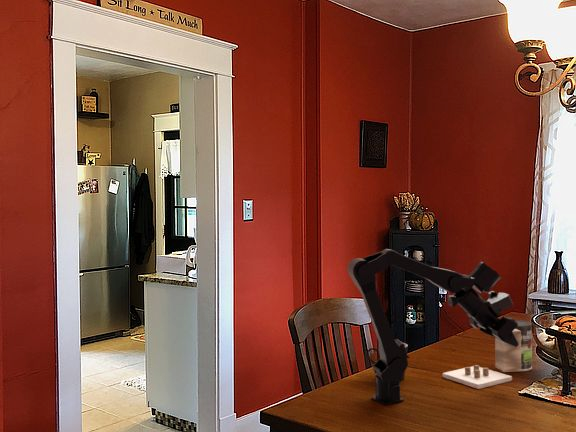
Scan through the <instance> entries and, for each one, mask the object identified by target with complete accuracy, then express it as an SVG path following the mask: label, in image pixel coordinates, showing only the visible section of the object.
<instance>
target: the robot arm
mask: <svg viewBox="0 0 576 432" xmlns="http://www.w3.org/2000/svg"><path fill="white" fill-rule="evenodd" d="M390 266H394V267H395V268H398V269H401V270H403V271H406V272H409V273H411V274H414V275H415V276H419V277H421V278H424V279H426V280H427V281H429V282H430V283H432V284H433V285H434V286H435V287H437V288H439V289H441V290H442V291H445V292H449V293H451V294H453V295H448V296H447V298H448V300H447V304H448V305H449V306H451V307H453V308H454V307H456V306H457V305H459V306H460V307H461V308H462V309H463V310H464V311H465V312H466V315H467V316H468V318H469V321H468V323H469V324H470V326H472V327H473V328H474V329H476V330H478V329H479V332H482V333H485V334H486V335H489V336H491V337H493V338H494V339H495V338H496V339H498V340H501V341H503V342H506V343H508V344H510V345H513V346H515V347H517V346H518V345H519V343H518V342H517V340H516V338H515V336H514V334H513V332H512V331H513V330H514V329H515V328H516V327H517V326H518V323H517V322H516V321H515V320H516V319H514V318H512V317H508V316H502V317H501V315H502V314H503V313H502V312H503V311H505V310H507V309H508V308H511V307H513V306H514V302H513V300H512V298H511V296H510V294H509V293H506V292H498V293H497V292H496V291H494V290H491V289H492V288H493V287H494V286H495V285H496V283H497V282H498V281H500V279H501V275H500V274H499V273H498V272H497V271H496V270H495V269H493V268H491V267H490V266H488V265H487V264H486V263H485V262H483V261H479V263H478V264H477V265H476V267H474V269H473V270H472V271H471V272H470V273H469V275H468V274H462V273H459V272H457V271H454V270H450V269H446V268H441V267H437V266H436V267H435V266H431V265H429V264H426V263H424V262H421V261H419V260H416V259H414V258H410V257H409V256H406V255H404V254H401V253H398V252H397V251H396V250H393V249H389V248H385V249H383V250H381V251H379V252H376V253H373V254H371V255H367V256H365V257H363V258H360V257H356V258H353V259H351V260H350V262H349V263H348V266H347V273H348V275H349V277H350V278H351V280H352V282H353V284H354V285H355V287H356V288H357V289H358V291H359V292H360V294H361V297H362V300H363V302H364V305H365V307H366V310H367V312H368V317H369V319H370V321H371V324H372V327H373V329H374V332H375V335H376V338H377V340H378V350H379V354H380V356H379V359H378V360H376V362H375V364H374V363H373V365H372V370H373V372H374V374H375V376H374V378H375V381H374V383H375V384H374V386H375V395H372V396H370V398H371V400H373V401H376V402H379V403H380V404H382V405H386V406H387V405H390V404H396V403H400V402H403V401H404V400H405V398H404V397H402V396H401V385H400V382H401V381H402V380H401V377H402V374H403V372H404V371H405V372H406V370H407V368H408V366H409V361H408V359H410V356H409V355H408V352H407V353H406V350H405V346H404V344H403V343H404V342H402V341H400V340H399V339H398V338H396V339H395V337H394V335H393V332H392V329H391V326H390V323H389V321H388V318H387V316H386V313H385V310H384V306H383V304H382V302H381V299H380V297H379V293H378V290H377V289H378V288H377V276H376V275H377V274H379V273H381V272H383V271H384V270H385V269H387V268H388V267H390ZM490 290H491V291H490ZM482 293H487V299H486V300H485V299H484V298H483V297H482V296H481V295H480V294H482ZM500 317H501V318H500ZM479 327H480V328H479ZM379 354H378V355H379ZM400 380H401V381H400Z"/></svg>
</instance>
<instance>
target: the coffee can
mask: <svg viewBox="0 0 576 432" xmlns="http://www.w3.org/2000/svg"><path fill="white" fill-rule="evenodd" d="M514 320H515V321H516V322H517V323H518V326H517V327H516V328H515V329H517V330H520V331H521V371H520V372H528V371H531V370H532V369H533V365H532V364H533V363H532V361H533V360H532V359H533V358H532V354H533V353H532V351H533V347H532V346H533V345H532V342H533V341H532V336H533V335H532V333H533V332H532V331H533V329H532V328H533V327H532V326H533V323H532V322H530V321H527V320H521V319H520V320H519V319H514Z"/></svg>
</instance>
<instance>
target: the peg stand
mask: <svg viewBox="0 0 576 432" xmlns="http://www.w3.org/2000/svg"><path fill="white" fill-rule="evenodd" d="M442 378H444V379H447V380H450V381H453V382H456V383H460V384H463V385H465V386H469V387H470V388H471V387H472V388H474V389H477V390H480V389H484V388H486V387H487V388H488V387H492V386H496V385H500V384H504V383H507V382H511V381H513V376H512V375H508V374H505V373H502V372H500V371H496V370H495V371H494V370H492V369H489V367H481V366H480V365H478V364H475V365H472V366H466V367H463V368H459V369H454V370H449V371H446V372H445V371H444V372H443V373H442Z"/></svg>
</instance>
